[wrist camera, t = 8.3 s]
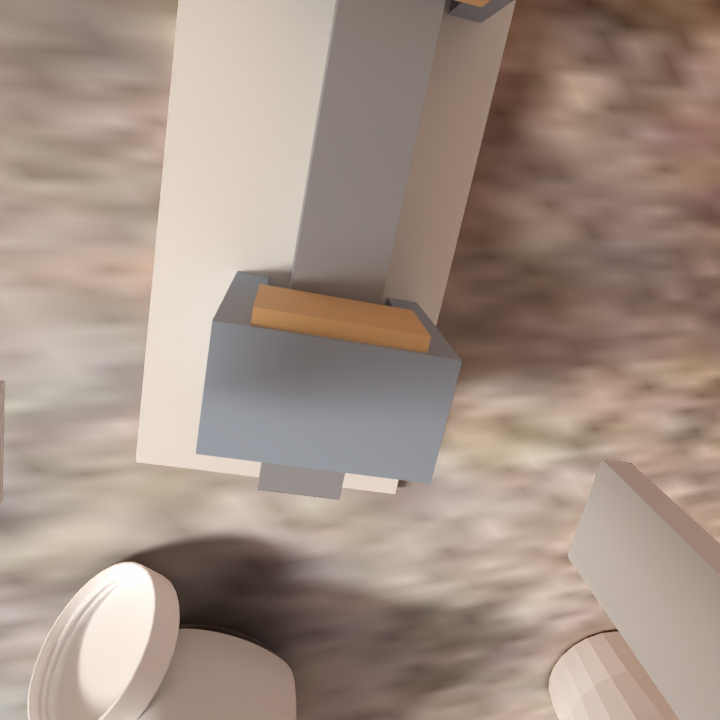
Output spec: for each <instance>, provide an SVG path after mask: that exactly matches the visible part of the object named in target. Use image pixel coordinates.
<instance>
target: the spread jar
mask: <svg viewBox="0 0 720 720" xmlns="http://www.w3.org/2000/svg"><path fill="white" fill-rule="evenodd" d="M179 621H180V614H179V602H178V598H177V594H176V591H175V589H174V587H173V585H172V584H171V582H170V581H169V580H168V579H167V578H165V577H164V576H163V575H161V574H159V573H157V572H155V571H153V570H151V569H149V568H147V567H145V566H143V565H141V564H138V563H136V562H122V563H118V564H115V565H112V566H110V567H108V568H106V569H105V570H103V571H101V572H100V573H98V574H97V575H96V576H94V577H93V578H92V579H90V580H89V581H88V582H87V583H86V584H85V585H84V586H83V587H82V588H81V589H80V590H79V591H78V592H77V593H76V594H75V596H74V597H73V598H72V599H71V600H70V601H69V603H68V604H67V605H66V607H65V608H64V610H63V611H62V612H61V614H60V615H59V617H58V618H57V620H56V622H55V623H54V625H53V627H52V628H51V630H50V632H49V634H48V636H47V638H46V640H45V642H44V644H43V646H42V648H41V651H40V653H39V656H38V658H37V661H36V664H35V667H34V670H33V674H32V677H31V681H30V687H29V693H28V718H29V720H296V691H295V681H294V677H293V673H292V670H291V669H290V667H289V665H288V664H287V663H286V662H285V660H284V659H283V658H282V657H281V656H280V655H279V654H277V653H276V652H275V651H274V650H272V649H270V648H269V647H267V646H266V645H264V644H263V643H261V642H260V641H258V640H256V639H254V638H252V637H250V636H248V635H246V634H243V633H240V632H238V631H235V630H231V629H228V628H224V627H219V626H213V625H205V624H181V625H179Z"/></svg>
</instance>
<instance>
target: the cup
mask: <svg viewBox="0 0 720 720" xmlns="http://www.w3.org/2000/svg"><path fill="white" fill-rule="evenodd" d="M549 693H550V697H551V700H552V703H553V706H554V709H555V712H556V715H557V718H558V720H679V718H678V717H677V715H676V714H675V712H674V711H673V710H672V708H671V707H670V705H669V704H668V702H667V701H666V699H665V698H664V696H663V695H662V694H661V692H660V691H659V689H658V688H657V686H656V685H655V683H654V682H653V680H652V679H651V678H650V676H649V675H648V673H647V672H646V670H645V669H644V667H643V666H642V664H641V663H640V662H639V660H638V659H637V657H636V656H635V654H634V653H633V651H632V650H631V648H630V647H629V646H628V644H627V643H626V641H625V640H624V638H623V637H622V635H621V634H620V632H617V631H616V632H608V633H601V634H598V635H595V636H592V637H589V638H586V639H584V640H583V641H581V642H579V643H577V644H576V645H574V646H572V647H571V648H570V649H569V650H568V651H567V652H566V653H564V654H563V655H562V656H561V658H560V659H559V661H558V662H557V663H556V665H555V666H554V668H553V671H552V673H551V676H550V678H549Z"/></svg>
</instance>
